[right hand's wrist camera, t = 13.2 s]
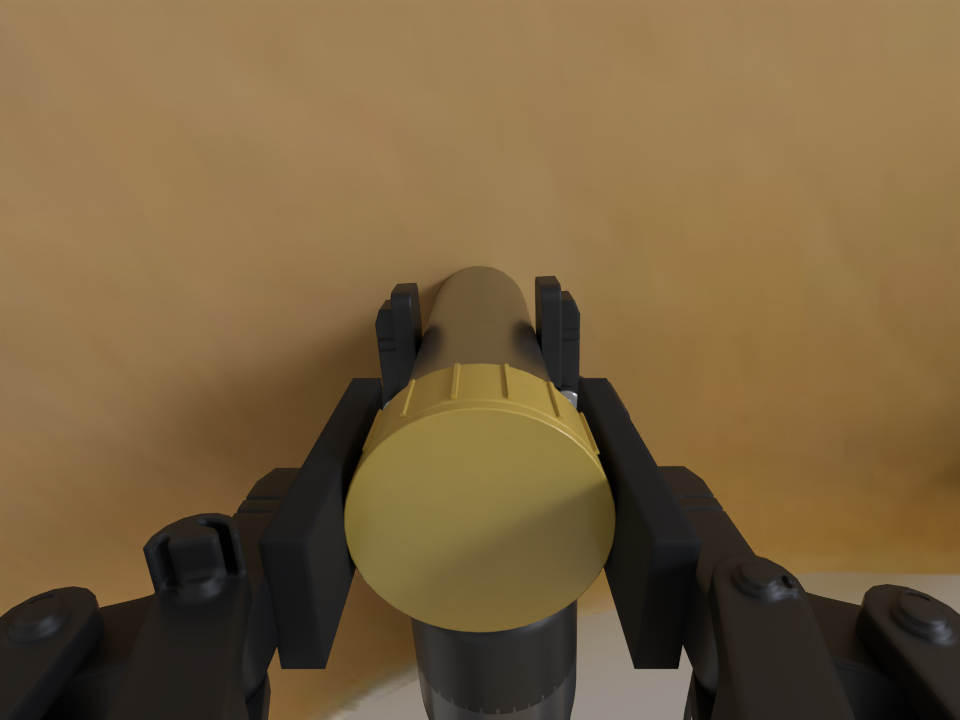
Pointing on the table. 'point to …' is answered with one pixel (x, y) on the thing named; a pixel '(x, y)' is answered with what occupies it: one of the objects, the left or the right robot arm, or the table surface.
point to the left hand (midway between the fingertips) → (474, 286)
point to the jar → (479, 326)
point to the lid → (479, 501)
